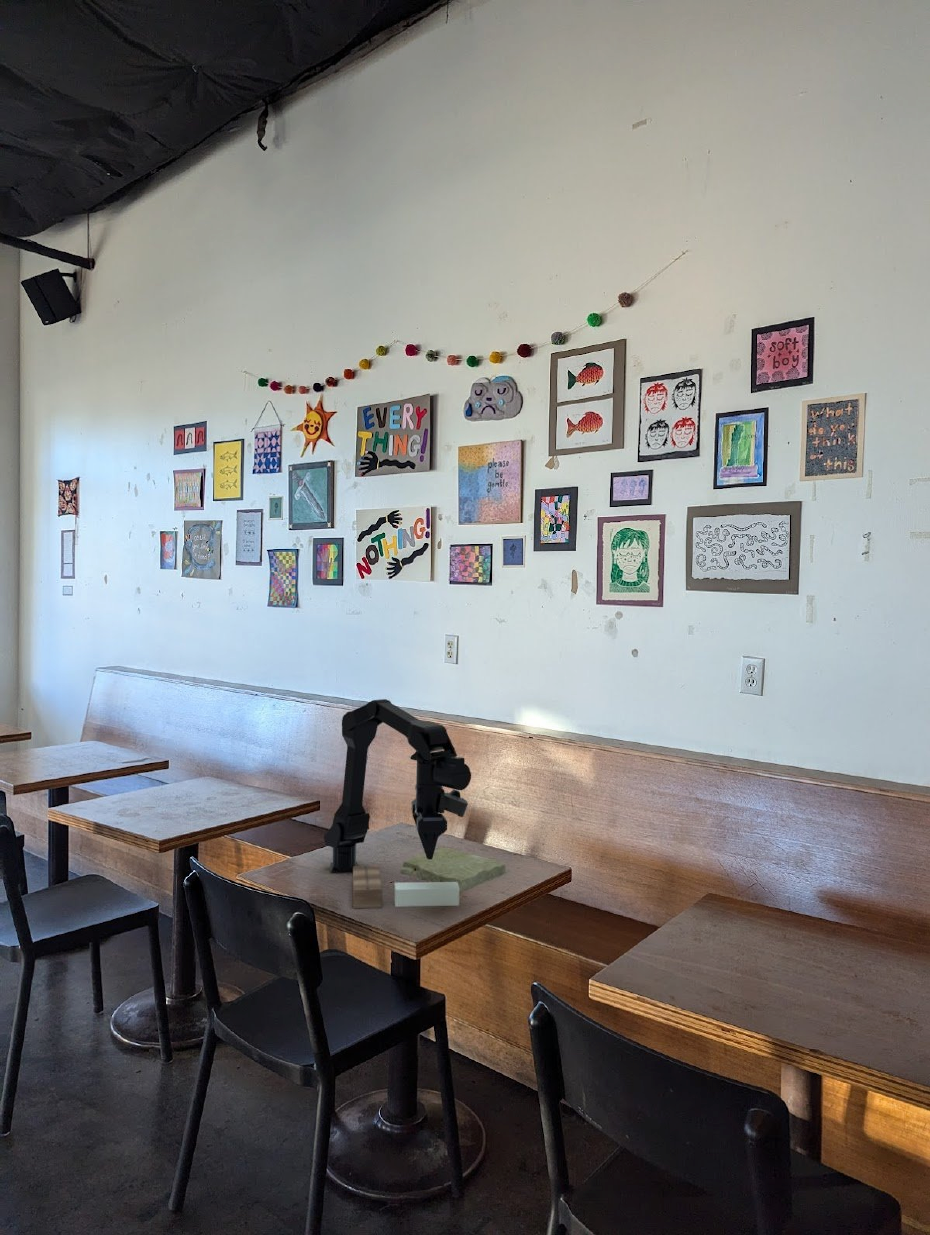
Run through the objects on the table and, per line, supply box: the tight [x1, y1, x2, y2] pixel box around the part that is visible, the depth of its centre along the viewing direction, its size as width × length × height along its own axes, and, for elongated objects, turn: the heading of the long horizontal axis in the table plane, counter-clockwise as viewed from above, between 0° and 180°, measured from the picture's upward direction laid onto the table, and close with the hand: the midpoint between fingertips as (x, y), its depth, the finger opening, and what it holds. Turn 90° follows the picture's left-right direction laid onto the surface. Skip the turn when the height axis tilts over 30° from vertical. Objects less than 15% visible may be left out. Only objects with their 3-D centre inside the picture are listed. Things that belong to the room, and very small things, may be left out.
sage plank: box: [393, 881, 460, 908], centre depth 189 cm, size 14×4×4 cm, turn 97°
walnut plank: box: [352, 865, 383, 909], centre depth 193 cm, size 16×6×4 cm, turn 8°
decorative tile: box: [400, 847, 507, 892], centre depth 209 cm, size 19×20×4 cm
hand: (427, 853), depth 189 cm, fingers open, 9 cm apart
